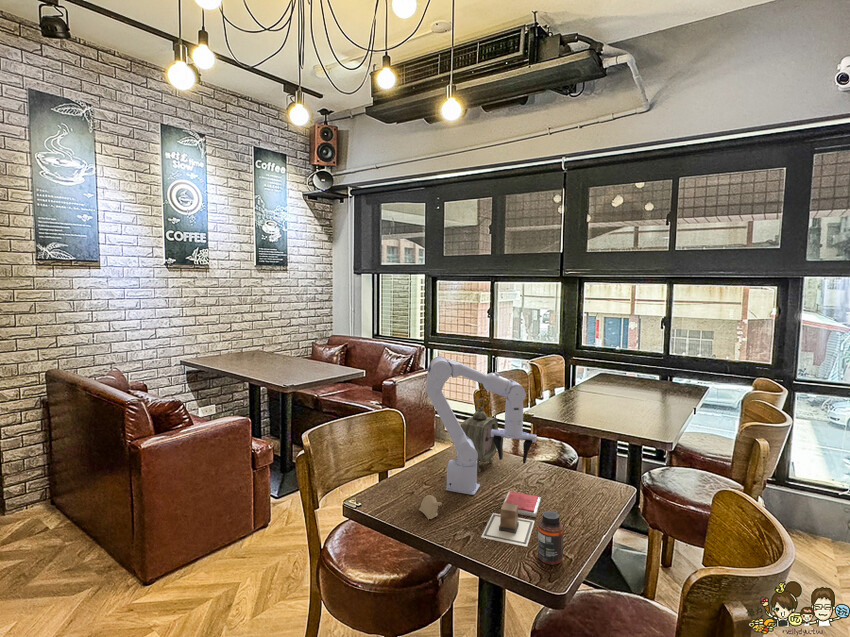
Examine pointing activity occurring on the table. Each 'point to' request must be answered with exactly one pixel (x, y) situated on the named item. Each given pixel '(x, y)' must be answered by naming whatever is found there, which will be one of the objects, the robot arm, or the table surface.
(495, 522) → the paper card
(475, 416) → the tabletop clock
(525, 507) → the ink pad
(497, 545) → the table surface
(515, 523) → the stamp
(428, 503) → the decorative ornament
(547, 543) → the supplement bottle
